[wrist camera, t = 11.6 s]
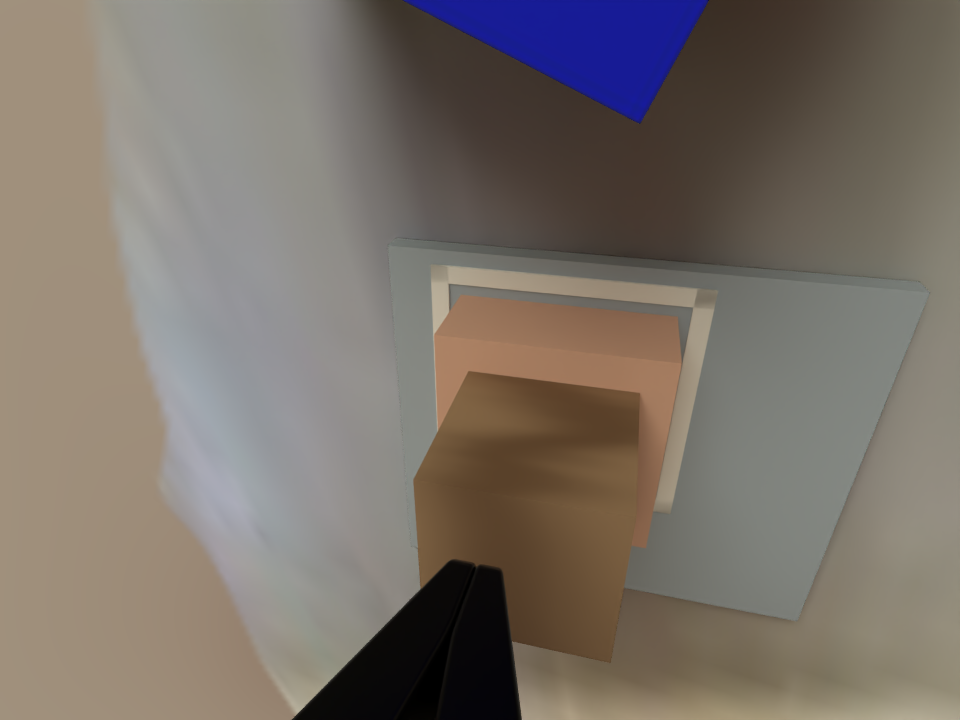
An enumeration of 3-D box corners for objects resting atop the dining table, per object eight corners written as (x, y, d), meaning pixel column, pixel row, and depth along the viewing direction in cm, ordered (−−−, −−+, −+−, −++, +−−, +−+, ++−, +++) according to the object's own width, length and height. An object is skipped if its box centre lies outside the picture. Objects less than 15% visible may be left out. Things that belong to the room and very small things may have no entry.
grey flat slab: (919, 281, 17) (931, 293, 17) (793, 604, 24) (797, 623, 24) (396, 238, 21) (386, 246, 20) (416, 533, 28) (409, 548, 27)
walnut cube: (639, 392, 17) (636, 517, 13) (619, 523, 20) (610, 663, 15) (468, 371, 18) (413, 479, 14) (469, 496, 21) (422, 621, 16)
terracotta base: (677, 316, 19) (682, 363, 16) (646, 487, 22) (645, 548, 20) (461, 294, 20) (434, 334, 18) (463, 458, 24) (441, 511, 21)
